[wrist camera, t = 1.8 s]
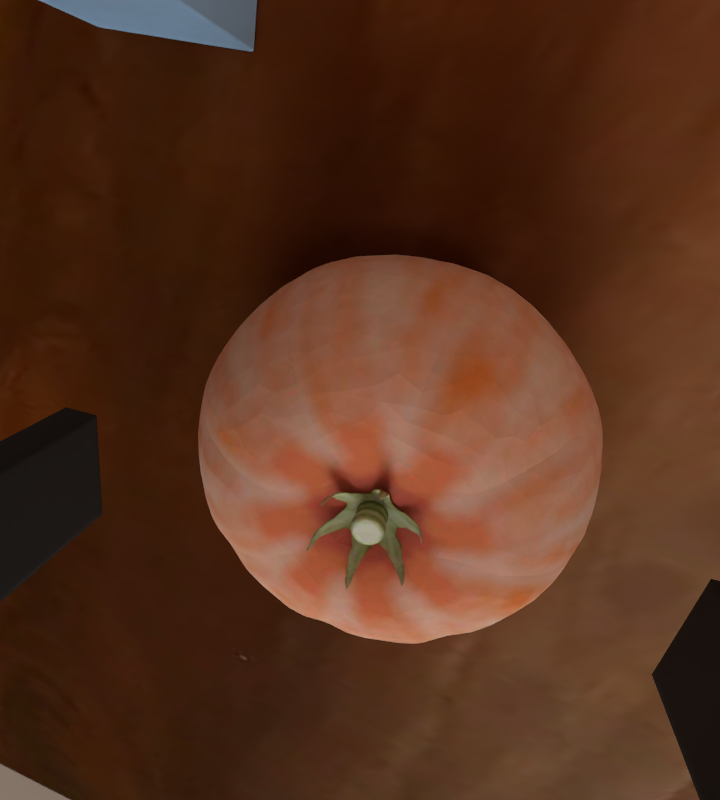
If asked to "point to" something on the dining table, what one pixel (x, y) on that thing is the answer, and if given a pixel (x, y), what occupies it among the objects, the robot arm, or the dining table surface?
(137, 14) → the blue block
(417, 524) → the tomato
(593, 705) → the dining table surface
